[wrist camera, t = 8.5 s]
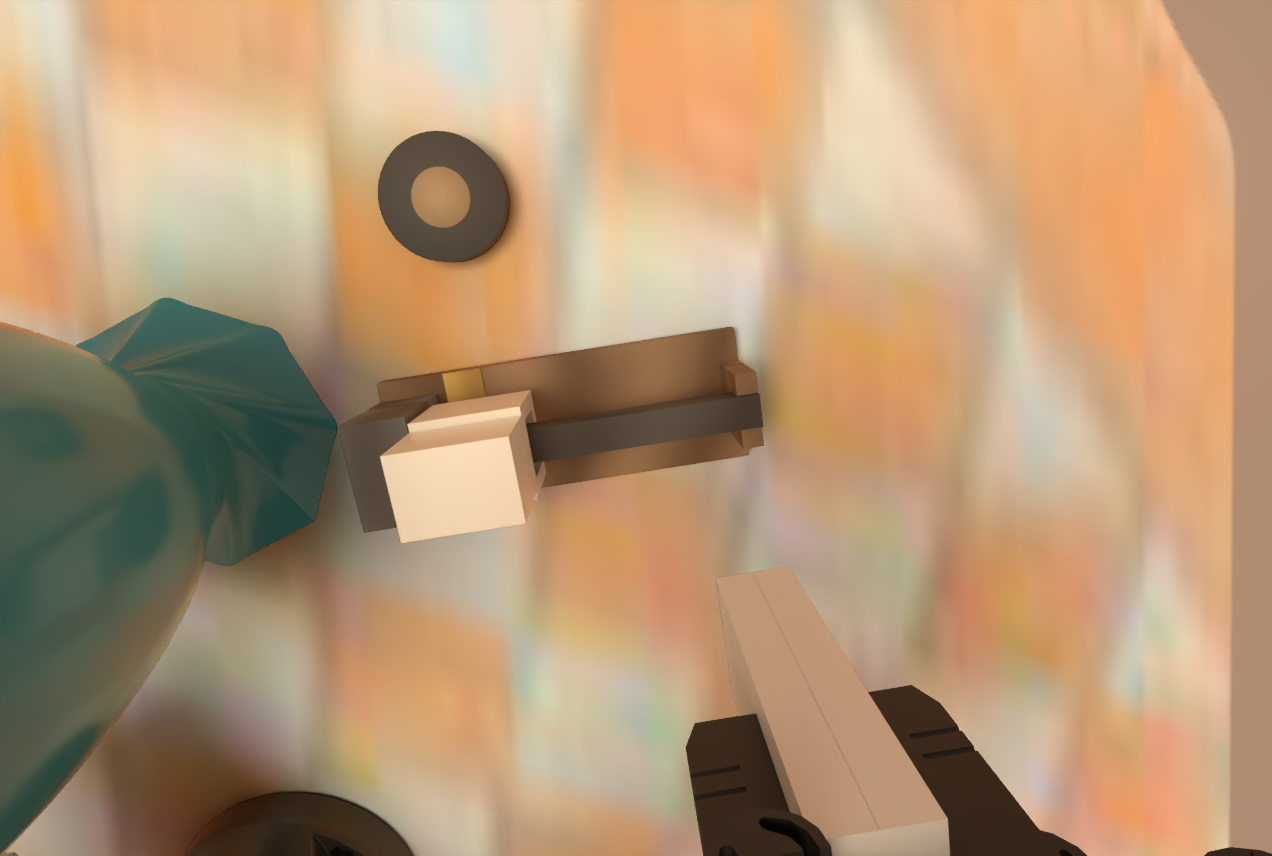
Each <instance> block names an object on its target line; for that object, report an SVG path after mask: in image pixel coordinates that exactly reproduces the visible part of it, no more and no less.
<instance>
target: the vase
mask: <svg viewBox="0 0 1272 856" xmlns="http://www.w3.org/2000/svg"><path fill="white" fill-rule="evenodd" d="M336 432H337V425H336V422H335V420H334V418H333V417H332V415H331V414H330V413H329V411H328V410H327V409H326V408H325V406H324V405H323V403H322V402H321V400H320V399H319V397H318V395H317V394H316V392H315V390H314V389H313V387H312V386H311V384H310V383H309V381H308V380H307V378H306V377H305V375H304V373H303V372H302V370H301V369H300V367H299V366H298V364H297V363H296V361H295V360H294V358H293V357H292V355H291V354H290V352H289V350H288V348H287V346H286V344H285V342H284V340H283V338H282V337H281V336H280V334H279V333H278V332H277V331H275V330H273V329H271V328H268V327H264V326H259V325H254V324H250V323H247V322H244V321H241V320H238V319H234V318H231V317H228V316H224V315H221V314H217V313H214V312H211V311H208V310H204V309H201V308H197V307H193V306H190V305H187V304H184V303H182V302H180V301H177V300H175V299H171V298H162V299H159V300H157V301H155V302H154V303H152V304H151V305H150V306H148V307H147V308H146V309H144V310H142V311H140V312H139V313H137V314H135V315H133V316H131V317H129V318H127V319H125V320H124V321H122V322H120V323H118V324H117V325H115V326H113V327H111V328H109V329H107V330H106V331H104V332H102V333H101V334H99V335H97V336H96V337H94V338H92V339H90V340H87V341H85V342H82V343H80V344H78V345H76V346H73V345H70V344H68V343H65V342H62V341H60V340H57V339H54V338H51V337H48V336H45V335H42V334H39V333H36V332H33V331H30V330H27V329H24V328H20V327H17V326H14V325H10V324H7V323H3V322H0V856H1V855H2V854H3V853H4V852H5V851H6V850H7V849H8V848H9V847H10V846H11V845H12V844H13V843H14V842H15V841H16V840H17V839H18V838H19V837H20V836H21V835H22V834H23V833H24V832H25V831H26V829H27V828H28V827H29V826H30V825H31V824H32V823H33V822H34V821H35V820H36V819H37V818H38V816H39V815H40V814H41V813H42V812H43V811H44V810H45V809H46V808H47V806H48V805H49V804H50V803H51V802H52V801H53V800H54V798H55V797H56V796H57V795H58V794H59V793H60V792H61V790H62V789H63V788H64V787H65V786H66V784H67V783H68V782H69V781H70V780H71V778H72V777H73V776H74V775H75V774H76V772H77V771H78V770H79V769H80V767H81V766H82V765H83V764H84V763H85V761H86V760H87V759H88V758H89V756H90V755H91V754H92V752H93V751H94V750H95V749H96V747H97V746H98V745H99V743H100V742H101V741H102V740H103V738H104V737H105V736H106V734H107V733H108V732H109V731H110V729H111V728H112V727H113V725H114V724H115V723H116V721H117V720H118V719H119V717H120V716H121V715H122V713H123V712H124V711H125V709H126V708H127V706H128V705H129V704H130V702H131V701H132V700H133V698H134V697H135V695H136V694H137V692H138V691H139V690H140V688H141V687H142V685H143V684H144V682H145V681H146V679H147V678H148V676H149V675H150V673H151V672H152V670H153V669H154V667H155V665H156V664H157V662H158V661H159V659H160V657H161V656H162V654H163V652H164V651H165V649H166V647H167V646H168V644H169V642H170V640H171V639H172V637H173V635H174V633H175V631H176V630H177V628H178V626H179V624H180V622H181V620H182V618H183V616H184V614H185V612H186V610H187V607H188V605H189V603H190V601H191V598H192V596H193V593H194V591H195V588H196V586H197V583H198V580H199V577H200V574H201V571H202V567H203V563H204V560H208V561H211V562H213V563H216V564H219V565H223V566H230V565H233V564H235V563H237V562H238V561H240V560H241V559H243V558H244V557H246V556H248V555H249V554H251V553H253V552H256V551H258V550H260V549H262V548H263V547H265V546H267V545H269V544H271V543H273V542H275V541H277V540H279V539H281V538H282V537H284V536H286V535H288V534H290V533H292V532H294V531H296V530H298V529H300V528H302V527H304V526H306V525H308V524H310V523H312V522H313V521H315V518H316V514H317V509H318V505H319V500H320V496H321V491H322V487H323V483H324V478H325V474H326V470H327V466H328V461H329V456H330V451H331V447H332V444H333V441H334V438H335V435H336Z"/></svg>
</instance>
